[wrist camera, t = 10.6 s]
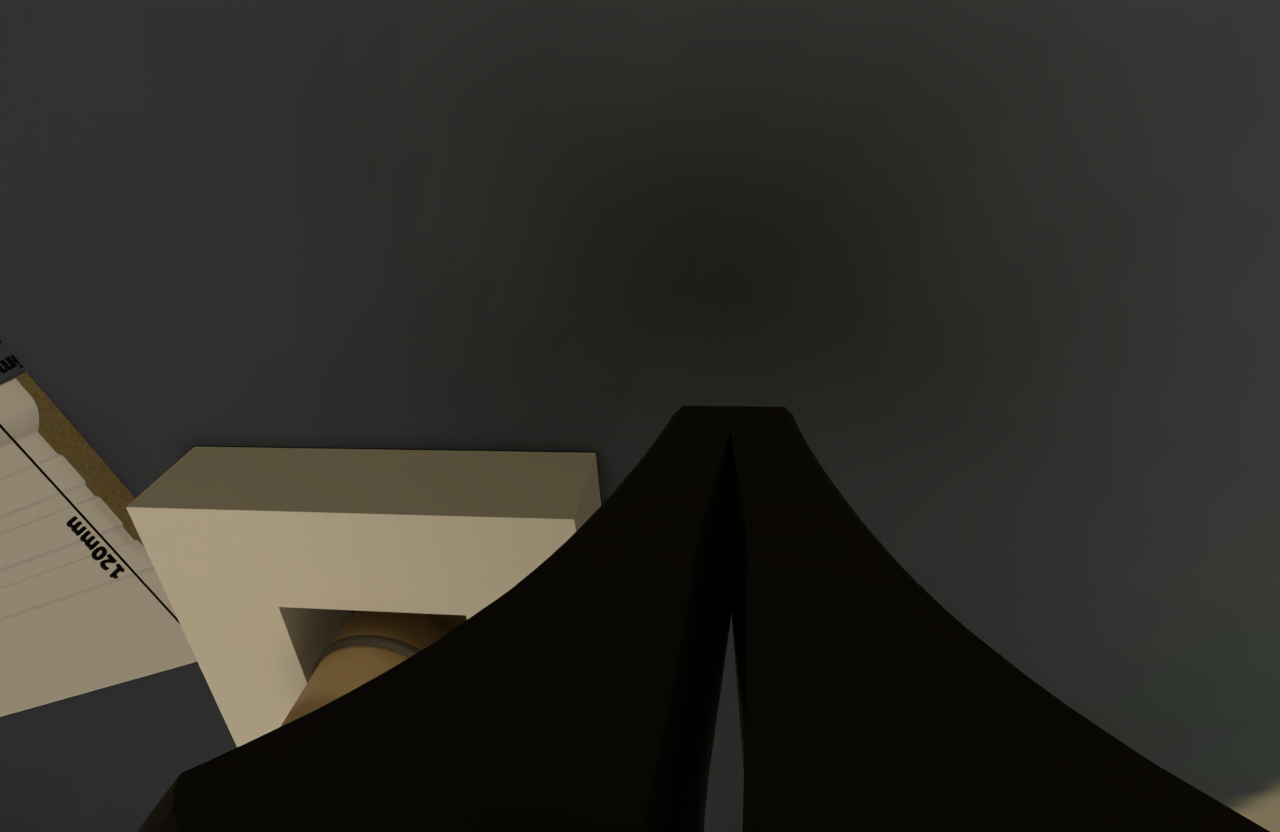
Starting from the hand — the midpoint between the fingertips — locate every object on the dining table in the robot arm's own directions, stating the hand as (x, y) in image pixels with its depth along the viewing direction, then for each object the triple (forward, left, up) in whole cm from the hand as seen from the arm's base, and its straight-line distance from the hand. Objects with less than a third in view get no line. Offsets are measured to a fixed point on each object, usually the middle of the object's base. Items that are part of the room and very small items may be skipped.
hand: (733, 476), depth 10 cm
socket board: (-12, +10, -10) cm, 18 cm away
